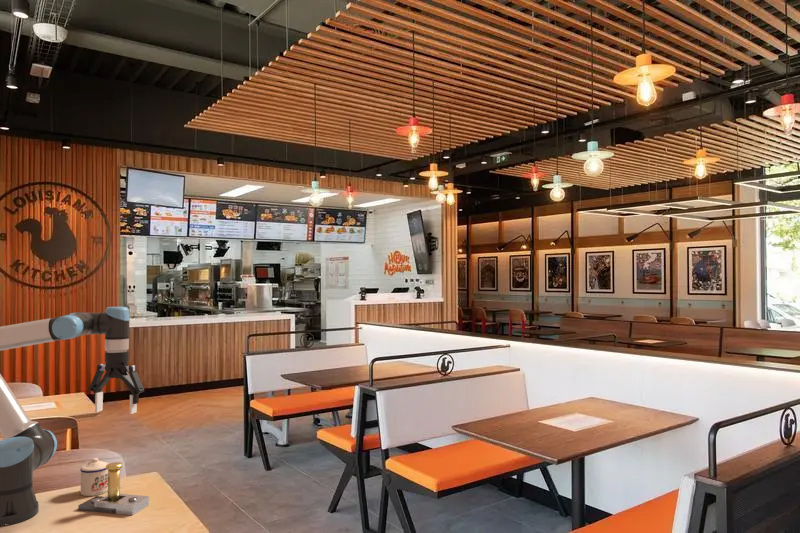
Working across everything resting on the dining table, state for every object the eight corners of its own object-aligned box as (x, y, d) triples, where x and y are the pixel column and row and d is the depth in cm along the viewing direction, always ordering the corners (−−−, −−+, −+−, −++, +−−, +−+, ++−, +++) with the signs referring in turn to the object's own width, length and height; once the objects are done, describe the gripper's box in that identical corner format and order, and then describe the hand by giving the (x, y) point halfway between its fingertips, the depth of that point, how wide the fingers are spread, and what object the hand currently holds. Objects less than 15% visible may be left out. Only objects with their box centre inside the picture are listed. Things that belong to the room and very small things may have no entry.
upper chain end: (94, 511, 181) (94, 500, 181) (111, 501, 188) (112, 491, 188) (132, 515, 178) (132, 504, 178) (148, 505, 186) (148, 494, 186)
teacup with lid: (92, 498, 191) (93, 464, 192) (73, 494, 195) (74, 460, 195) (121, 486, 203) (122, 454, 203) (103, 483, 206) (103, 451, 206)
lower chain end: (78, 509, 182) (78, 503, 182) (96, 500, 190) (96, 494, 190) (116, 513, 179) (116, 507, 179) (132, 503, 187) (132, 497, 187)
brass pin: (102, 509, 182) (102, 466, 182) (112, 504, 186) (113, 461, 187) (114, 511, 181) (115, 467, 181) (125, 505, 185) (125, 462, 186)
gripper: (155, 350, 196) (154, 411, 196) (93, 348, 201) (92, 408, 201) (141, 353, 189) (140, 416, 188) (77, 351, 194) (76, 412, 193)
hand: (115, 412), depth 195 cm, fingers open, 13 cm apart
